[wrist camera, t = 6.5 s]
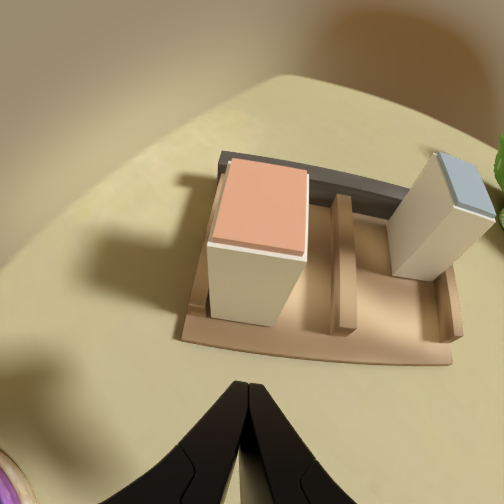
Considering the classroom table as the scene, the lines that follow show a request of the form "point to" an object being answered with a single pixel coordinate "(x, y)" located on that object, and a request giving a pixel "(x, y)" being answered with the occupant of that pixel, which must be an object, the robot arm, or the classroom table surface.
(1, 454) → the stacking toy
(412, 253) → the blue-topped cream block
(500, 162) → the turtle holder
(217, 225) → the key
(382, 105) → the classroom table surface
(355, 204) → the wooden divided tray
